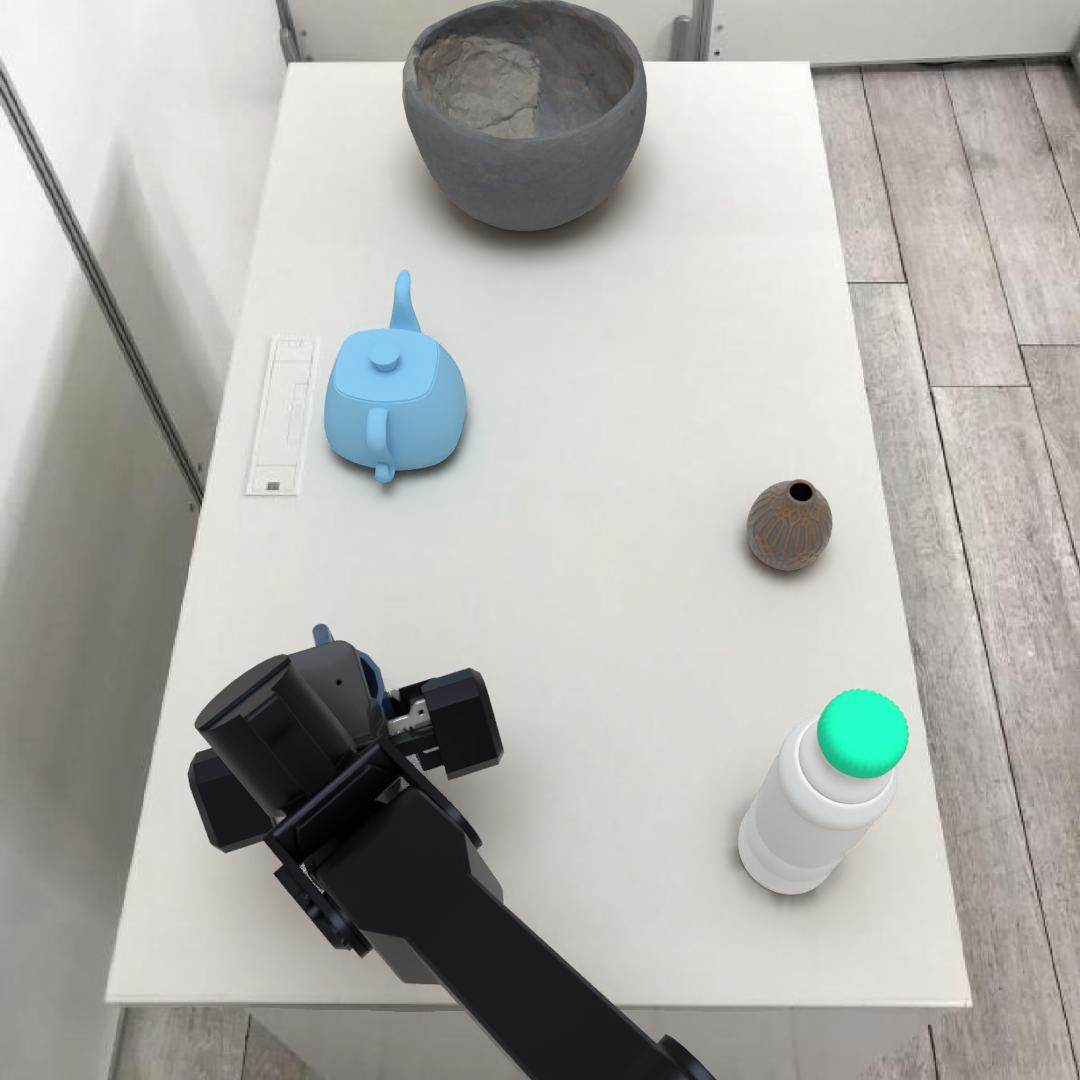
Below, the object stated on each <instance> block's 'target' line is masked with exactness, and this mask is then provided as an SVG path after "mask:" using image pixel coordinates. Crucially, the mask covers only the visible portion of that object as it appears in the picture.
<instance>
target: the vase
mask: <svg viewBox="0 0 1080 1080" xmlns="http://www.w3.org/2000/svg"><path fill="white" fill-rule="evenodd" d="M833 523H834V522H833V513H832V510H831V506H830V505H829V502H828V500H827V498H826V497H825V496H824V494H823V493H822V492H821V491H819V489H817V488H816V487H815V486H814V484H812V483H811V482H810V481H808V480H806V479H802V478H797V479H794V480H793V479H792V480H783V481H779V482H776V483H774V484H772V485H769V487H767V488H766V489H764V490H763V491H762V492H761V493H760V494H759V495H758V496H757V497H756V499H755V500H754V502H753V503H752V505H751V507H750V509H749V512H748V515H747V519H746V537H747V541H748V544H749V547H750V549H751V550H752V553H754V556H756V557H757V558H758V560H759V561H761V562H762V564H765V565H767V566H768V567H771V568H773V569H776V570H781V571H796V570H800V569H802V568H806V567H807V566H809V565H810V564H812V563H813V562H815V561H816V560H817V559H818V558H819V557H820V556H821V555H822V554H823V552H825V550H826V548H827V546H828V544H829V542H830V539H831V536H832V533H833V527H834V526H833Z"/></svg>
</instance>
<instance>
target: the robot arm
mask: <svg viewBox="0 0 1080 1080" xmlns="http://www.w3.org/2000/svg"><path fill="white" fill-rule="evenodd" d="M356 649H357V648H356V646H354V645H353V644H351V643H350V642H348V641H345V640H342V639H337V640H335V641H332V642H329V643H325V644H322V645H319V646H316V647H315V646H313V647H309V648H306V649H302V650H299V651H295V652H292V653H290V654H289V653H288V654H287V653H280V654H277V655H273V656H272V657H271V656H270V657H269V658H267V659H265V660H263V661H261V662H259V663H257V664H256V665H254V666H253V667H251V668H250V669H248V670H246V671H245V672H243V673H242V674H241V675H239V676H238V677H236V678H235V679H233V680H232V681H231V682H230V683H229V684H227V685H226V686H225V687H224V688H223V689H222V690H220V691H219V692H218V693H217V694H216V695H215V696H214V697H213V698H212V699H211V700H210V701H209V702H208V703H207V704H206V705H205V706H204V707H203V709H202V710H201V711H200V712H199V714H198V715H197V717H196V719H195V721H194V724H193V725H194V729H195V730H196V731H197V732H198V733H199V735H201V737H202V738H203V739H204V740H205V742H206V743H207V744H208V745H209V746H210V748H206V749H204V750H200V751H197V752H195V754H194V756H193V757H192V759H191V761H190V763H189V766H188V767H189V768H188V771H187V779H188V786H189V789H190V792H191V795H192V797H193V800H194V804H195V806H196V808H197V811H198V814H199V817H200V819H201V823H202V825H203V827H204V830H205V834H206V836H207V838H208V842H209V844H210V845H211V846H212V847H213V848H215V849H217V850H219V851H220V852H222V853H224V854H229V853H232V852H235V851H237V850H240V849H243V848H247V847H249V846H253V845H256V844H259V843H261V842H263V843H264V844H265V845H266V846H267V847H268V848H269V850H270V851H271V852H272V854H273V855H274V856H275V857H276V858H277V859H278V861H279V862H280V863H281V864H282V865H281V866H280V867H278V868H277V869H276V870H275V871H274V872H273V873H272V874H273V875H274V877H275V878H276V879H277V880H278V882H279V883H280V884H281V885H282V887H283V888H284V889H285V890H286V891H287V893H288V894H289V895H290V896H291V897H292V899H293V900H294V901H295V902H296V903H297V905H298V906H299V907H300V909H301V910H302V911H303V912H304V913H305V914H306V916H307V917H308V918H309V919H310V921H311V922H312V923H313V924H314V926H315V927H316V928H317V929H318V931H320V933H321V934H322V935H323V936H324V938H325V939H326V940H327V941H328V943H330V945H331V946H332V947H333V948H334V949H335V950H336V951H337V950H339V951H340V950H341V951H348V952H351V951H352V950H353V951H354V952H355V953H356V954H357V955H358V957H359V958H360V959H361V960H363V959H364V958H365V957H366V956H367V955H368V954H369V953H370V952H371V951H373V950H374V951H375V952H376V953H377V955H378V956H379V957H380V958H381V959H382V960H383V961H384V963H385V964H386V965H387V966H388V967H389V968H390V970H391V971H392V972H393V973H394V974H395V976H396V977H397V978H398V979H399V981H400V982H402V983H403V984H406V985H433V986H434V985H437V986H441V987H442V988H443V989H444V990H445V991H446V992H447V994H448V995H449V996H450V997H451V998H452V999H453V1000H454V1001H455V1002H456V1003H457V1005H458V1006H459V1007H460V1008H461V1009H462V1010H463V1012H465V1014H466V1015H467V1016H468V1017H469V1018H470V1019H471V1020H472V1021H473V1023H474V1024H475V1025H476V1026H477V1027H478V1028H479V1029H480V1030H481V1032H482V1033H483V1034H484V1035H485V1036H486V1037H487V1039H488V1040H489V1041H491V1043H492V1044H493V1045H494V1046H495V1047H496V1048H497V1050H499V1052H500V1053H501V1054H502V1055H503V1057H505V1058H506V1059H507V1060H508V1062H509V1063H510V1064H511V1065H512V1067H513V1068H515V1069H516V1071H517V1072H518V1073H519V1074H520V1075H521V1076H522V1077H523V1078H524V1079H525V1080H717V1078H716V1077H715V1076H714V1075H713V1074H712V1073H711V1072H710V1070H708V1069H707V1068H706V1067H705V1065H703V1063H702V1062H701V1061H700V1060H699V1059H698V1058H697V1057H696V1056H695V1055H693V1054H692V1052H690V1051H689V1050H688V1049H687V1048H686V1047H685V1046H684V1045H683V1044H682V1043H680V1042H679V1041H677V1040H676V1039H675V1038H674V1037H672V1036H670V1035H669V1034H667V1033H665V1034H664V1035H663V1036H662V1037H661V1038H660V1039H659V1040H658V1042H656V1041H655V1040H654V1039H652V1037H650V1036H649V1035H648V1033H646V1032H645V1031H644V1030H643V1029H641V1028H640V1026H638V1025H637V1024H636V1023H635V1022H634V1021H633V1020H632V1019H630V1018H629V1017H628V1016H627V1014H625V1013H624V1012H623V1011H622V1010H620V1008H618V1007H617V1006H616V1005H615V1003H613V1002H612V1001H611V1000H610V999H608V997H607V996H605V995H604V994H603V993H602V992H601V991H600V990H599V989H598V988H597V987H595V986H594V985H593V984H592V983H591V982H590V981H589V980H588V979H587V978H586V977H584V976H583V974H581V973H580V972H579V971H578V970H577V969H576V968H575V967H574V966H573V965H571V964H570V963H569V962H568V961H567V960H566V959H564V957H562V956H561V955H560V954H559V953H558V952H557V951H556V950H555V949H554V948H552V946H551V945H550V944H548V942H546V941H545V940H544V939H543V938H541V936H539V935H538V934H537V933H536V932H535V931H534V930H533V929H532V928H531V927H529V926H528V925H527V924H526V923H525V922H524V921H523V920H522V919H521V918H520V917H519V916H517V915H516V914H515V913H514V912H513V911H512V910H511V909H510V908H509V907H508V906H506V904H504V903H505V901H504V889H503V886H502V884H501V883H500V881H499V880H498V879H497V878H496V876H495V874H494V873H493V872H492V870H491V869H490V867H489V866H488V864H487V863H486V861H485V860H484V858H483V857H482V856H481V854H480V852H479V851H478V850H479V849H480V848H481V847H482V846H483V841H482V839H481V837H480V836H479V834H478V832H477V831H476V829H475V828H474V827H473V825H471V823H470V822H469V821H468V820H467V818H466V817H465V816H464V815H463V813H461V811H460V810H459V809H458V808H457V807H456V806H455V804H453V803H452V802H451V800H450V799H448V798H447V796H445V795H444V794H443V793H442V792H441V791H440V789H438V788H437V787H436V786H435V785H434V784H433V783H432V782H431V781H430V780H429V779H428V778H427V777H426V776H425V775H424V774H423V773H424V772H428V771H431V770H433V769H437V768H439V767H444V771H445V774H446V777H447V781H452V780H455V779H458V778H461V777H464V776H468V775H471V774H473V773H477V772H481V771H483V770H485V769H488V768H492V767H494V766H495V767H496V766H497V765H498V766H499V764H500V762H501V760H502V758H503V756H504V753H505V750H504V745H503V742H502V738H501V734H500V730H499V727H498V723H497V719H496V716H495V713H494V709H493V705H492V702H491V698H490V694H489V691H488V688H487V685H486V682H485V679H484V677H483V676H482V673H481V672H480V671H477V670H476V669H474V668H472V667H467V668H463V669H461V670H457V671H453V672H451V673H448V674H445V675H441V676H437V677H431V678H428V679H424V680H422V681H421V680H420V681H418V682H415V683H412V684H408V685H406V686H402V687H398V689H396V688H395V689H392V690H390V691H389V693H390V695H391V698H392V701H393V704H394V707H395V711H396V714H397V717H398V718H395V719H392V720H388V721H387V719H386V716H385V712H384V709H383V707H380V705H379V702H378V700H377V699H375V698H372V697H371V696H370V692H369V689H368V685H367V682H366V679H365V675H364V672H363V668H362V665H361V661H360V657H359V654H358V652H357V650H358V649H357V650H356ZM398 731H400V732H401V733H398ZM392 732H393V733H394V735H392ZM410 755H412V756H413V755H415V757H416V759H417V761H418V763H419V765H420V767H421V770H422V771H423V773H422V772H421V771H420V770H419V769H418V768H417V767H416V766H415V765H414V764H413V762H412V763H411V762H410V761H409V760H408V759H407V758H406V757H407V756H410ZM401 777H402V778H403V779H404V780H405V781H406V782H405V783H406V784H407V786H405V787H404V785H403V784H402V779H401ZM302 865H304V868H305V870H306V872H305V871H304V870H303V869H302V868H301V866H302ZM321 891H323V892H321Z"/></svg>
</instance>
